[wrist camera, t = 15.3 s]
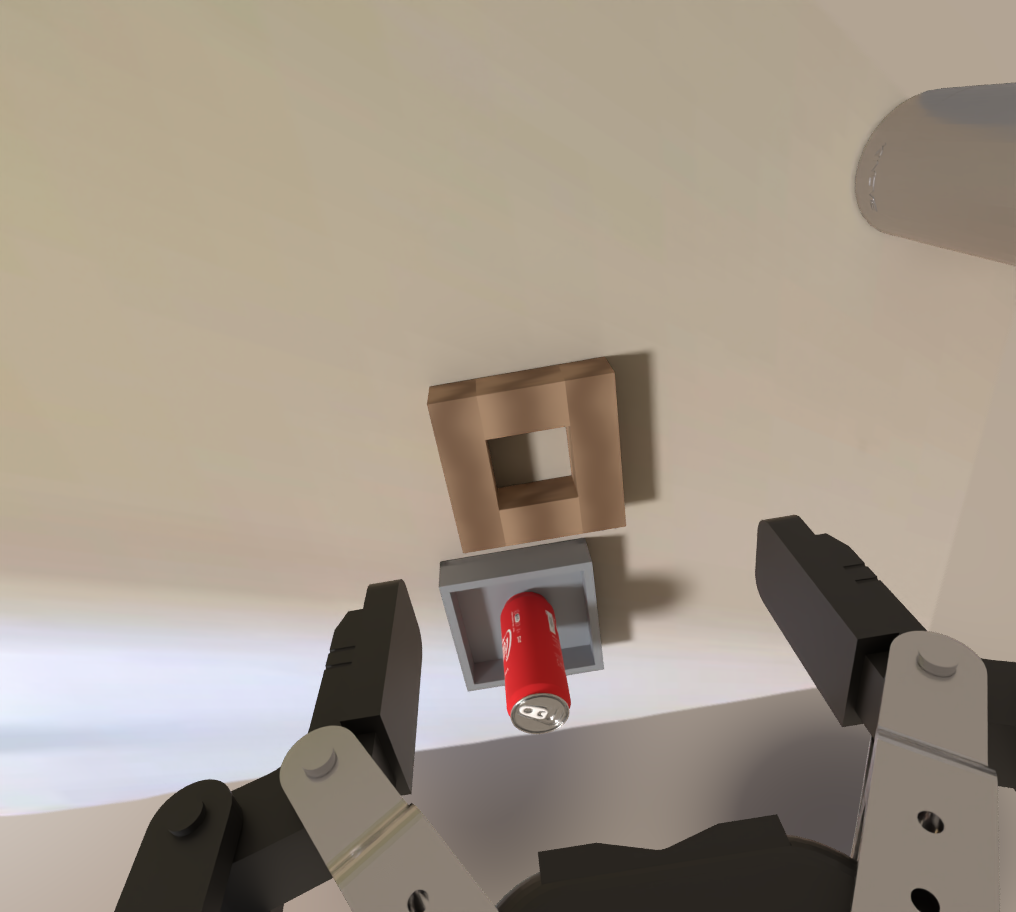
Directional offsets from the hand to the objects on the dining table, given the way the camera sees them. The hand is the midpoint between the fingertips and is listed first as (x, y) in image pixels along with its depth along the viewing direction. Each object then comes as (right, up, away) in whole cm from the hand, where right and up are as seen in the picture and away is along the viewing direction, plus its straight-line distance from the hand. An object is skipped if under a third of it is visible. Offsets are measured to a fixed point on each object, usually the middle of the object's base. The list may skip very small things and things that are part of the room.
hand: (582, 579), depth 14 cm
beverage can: (0, -12, +45) cm, 46 cm away
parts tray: (0, -12, +45) cm, 47 cm away
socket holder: (0, +3, +37) cm, 37 cm away
